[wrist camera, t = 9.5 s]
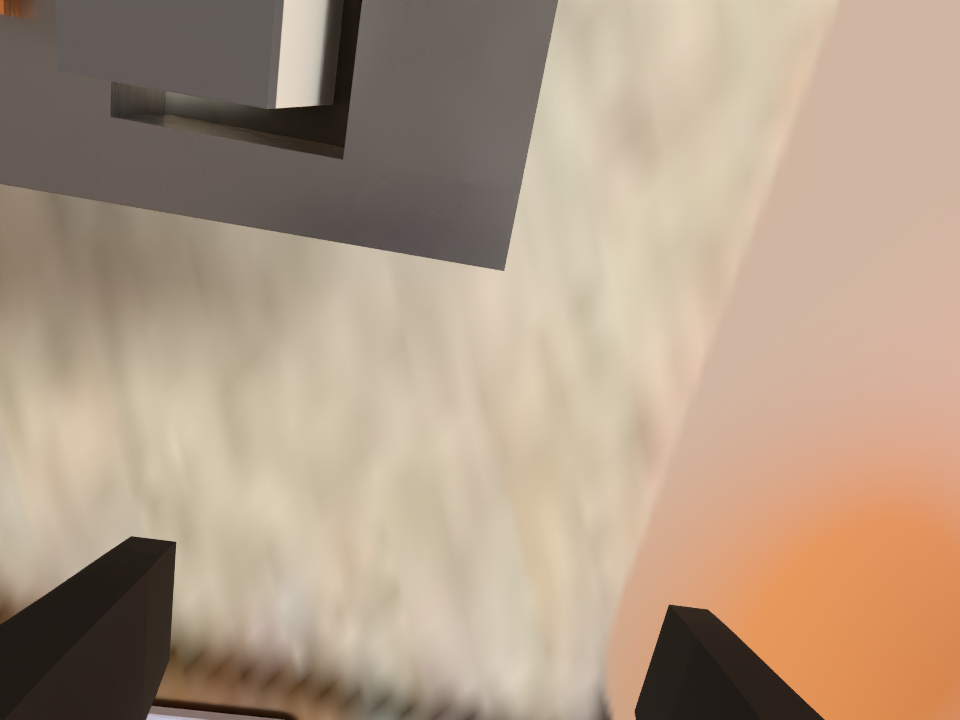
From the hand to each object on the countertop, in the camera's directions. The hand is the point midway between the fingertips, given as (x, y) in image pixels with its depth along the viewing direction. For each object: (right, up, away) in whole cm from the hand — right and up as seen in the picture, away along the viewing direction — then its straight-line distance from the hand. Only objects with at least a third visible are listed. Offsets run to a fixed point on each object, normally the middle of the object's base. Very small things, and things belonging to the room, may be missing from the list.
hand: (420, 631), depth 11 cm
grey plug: (-4, +12, +6) cm, 14 cm away
